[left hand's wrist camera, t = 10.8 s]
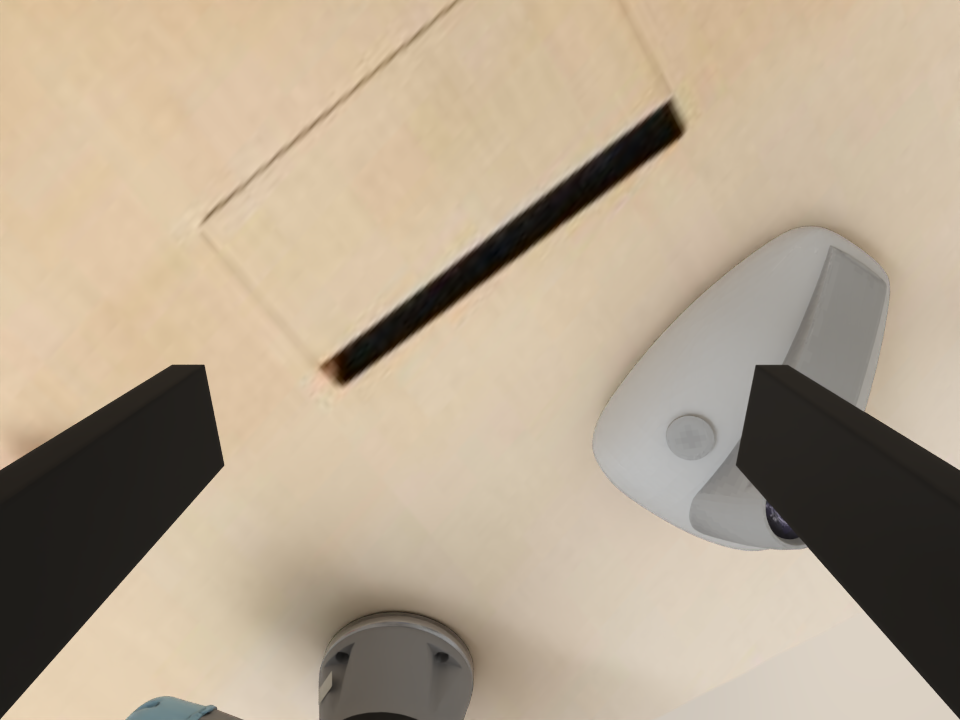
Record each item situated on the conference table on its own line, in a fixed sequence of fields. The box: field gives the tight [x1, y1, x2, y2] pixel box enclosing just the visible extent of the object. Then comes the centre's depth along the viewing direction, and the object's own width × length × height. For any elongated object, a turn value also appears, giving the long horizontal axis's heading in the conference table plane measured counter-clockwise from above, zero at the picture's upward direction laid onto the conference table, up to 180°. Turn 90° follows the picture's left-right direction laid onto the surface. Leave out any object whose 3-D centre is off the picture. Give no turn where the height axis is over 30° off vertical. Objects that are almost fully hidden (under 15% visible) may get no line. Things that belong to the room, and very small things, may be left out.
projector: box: [592, 226, 890, 551], centre depth 34 cm, size 22×23×15 cm
